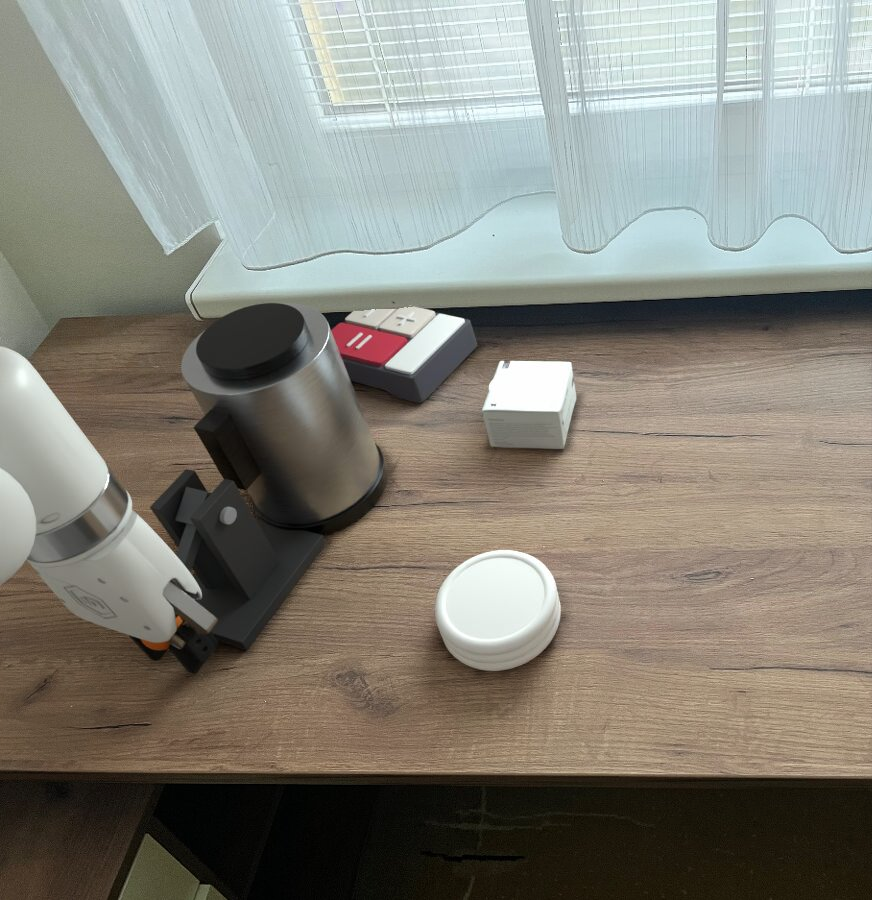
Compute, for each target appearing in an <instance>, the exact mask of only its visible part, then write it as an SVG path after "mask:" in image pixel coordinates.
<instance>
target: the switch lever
mask: <svg viewBox="0 0 872 900" xmlns="http://www.w3.org/2000/svg"><path fill="white" fill-rule="evenodd" d="M211 493H212V492H209V491H207V492H205V491H201V490H197V489H193V488H189V487H186V489H185V492H184V495H183V498H182V501H181V504H180V507H179V510H178V513H177V516H176V519H175V520H176V521H180V522H183V523H186V526H185V529H184V532H183V535H182V538H181V541H180V545H179V548H178V547H177V551H176V554H175V555H176V556H177V557H178V558H179V559H180V560H181V562H182V563H183V564H184V565H185V567H186V568H187V569H188V570H189V572H190V573H191V572H192V570H193V569H192V567H193V564H194V561H195V558H196V554H197V551H198V548H199V545H200V542H201V539H202V536H201V535H200V533H199V532H198V530H197V529H196V527H195V526H194V524H193V523H192V521H191V520H190V517H191V515H192V514H193V513H194V512H195V511H196V510H197V509H198V508H199V506H200V505H201V504H202V503H203V502H204V501H205V500H206V499H207V498H208V496H209V495H210V494H211ZM191 574H192V573H191ZM182 622H183V621H182V619H181V618H180V616H179V615H178V617H177V618H176V625H177V628H178V627H179V626H180V624H181V623H182ZM141 641H142V642H143V644H144V645H145V646H147V647H148V648H150V649H153V650H166V649H168V647H169V645H170V643H169V642H168V641H166V642H161V643H155V642H150V641H146V640H143V639H141Z"/></svg>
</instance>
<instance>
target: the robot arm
mask: <svg viewBox="0 0 872 900" xmlns="http://www.w3.org/2000/svg"><path fill="white" fill-rule="evenodd" d="M25 562H28V563H29V564H30V566H31V568H33V570H34V571H35V572H36V573H37V574H38V576H39V577H40V578H41V579H42V581H43V582H44V583H45V584H46V586H47V587H48V588H49V589H50V590H51V591H52V592H53V594H54V595H55V596H56V597H57V598H58V599H59V601H60V602H61V603H62V604H63V605H64V606H65V607H66V609H68V610H69V611H70V612H71V613H72V614H73V615H74V616H76V617H78V618H80V619H81V620H84V621H87V622H90V623H92V624H94V625H98V626H100V627H104V628H106V629H109V630H113V631H114V632H115V631H116V632H118V633H122V634H124V635H127V636H128V637H129V638H130V639H131V640H132V641H133V642H134V644H136V646H137V647H138V648H139V649H140V650H141V651H142V652H143V653H144V655H145V656H147V657H148V659H149V660H151V661H154V662H158V661H160V660H161V659H162V658H163V657H164V656H165V655H166V653H167V652H168V651H169V652H170V653H171V654H172V655H173V656H174V658H175V659H176V660H177V661H178V662H179V664H180V665H181V666H182V667H183V668H184V670H186V671H187V673H189V674H193V675H196V674H198V673H199V671H200V670H202V668H203V666H204V665H205V663H206V662H207V661H208V660H209V659H210V657H211V656H212V654H213V653H214V651H215V650H216V649H217V647H218V645H219V641H218V640H217V639H216V638H215V637H214V635H213V634H212V633H211V632H210V631H211V630H212V629H213V627H214V626H215V625H216V623H217V622H218V619H217V618H216V617H215V616H214V615H213V614H211V613H210V612H209V611H208V610H206V609H205V608H204V607H203V606H201V605H200V604H199V603H198V602H196V601H195V600H201V599H202V592H201V589H200V587H199V585H198V583H197V582H196V580H195V579H194V577H193V574H192V573H190V572H189V570H188V569H187V568H186V567H185V565H184V564H183V563H182V562H181V560H180V559H179V558H178V557H177V556H176V554H175V552H174V551H173V550H172V549H171V548H170V546H169V545H168V544H167V543H166V542H165V541H164V540H163V539H162V538H161V537H160V535H158V534H157V532H156V531H155V530H154V529H153V528H152V527H151V526H150V525H149V524H148V523H147V522H146V521H145V520H144V519H143V518H142V517H141V516H140V515H139V514H138V513H137V512H136V511H134V510H133V499H132V497H131V495H130V493H129V492H128V490H127V489H126V488H125V486H124V484H122V482H121V481H120V480H119V479H118V477H117V476H116V474H115V473H114V471H113V470H112V469H111V468H110V467H109V465H108V463H106V461H105V460H104V458H103V457H102V456H101V454H100V453H99V451H97V449H96V448H95V446H94V445H93V444H92V442H91V441H90V440H89V439H88V437H87V436H86V435H85V433H84V432H83V430H82V429H81V428H80V427H79V425H78V424H77V423H76V421H75V420H74V419H73V417H72V416H71V415H70V413H69V412H68V410H67V409H66V408H65V406H64V405H63V404H62V402H61V401H60V400H59V399H58V397H57V396H56V395H55V393H54V392H53V391H52V389H51V388H50V386H49V385H48V384H47V383H46V381H45V380H44V379H43V377H42V376H41V374H40V373H39V372H38V371H37V369H36V368H35V367H34V366H33V365H32V363H31V362H30V361H29V360H28V359H27V358H26V357H24V356H23V355H22V354H20V353H19V352H17V351H15V350H14V349H11V348H8V347H5V346H2V345H1V346H0V586H2V585H3V584H5V583H6V582H7V581H8V580H9V579H11V578H13V577H14V575H15V574H16V573H17V572H18V571H19V570H20V569H21V568H22V567H23V565H24V564H25ZM178 615H179V616H180V617H181V618H183V619H184V620H183V622H182V623H181V624H180V626H179V627H178V628H177V625H176V618H177V617H178ZM141 639H143V640H146V641H150V642H155V643H161V642H166V641H168V642H169V643H170V645H169V647H168V649H166V650H153V649H150V648H148V647H147V646H145V645H144V644H143V642H142V641H141Z"/></svg>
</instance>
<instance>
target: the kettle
mask: <svg viewBox="0 0 872 900" xmlns="http://www.w3.org/2000/svg"><path fill="white" fill-rule="evenodd" d="M331 330H332V329H331V327H330V324H329V321H328V320H327V318H326V317H325V316H324V315H323V314H322V312H320V311H319V310H317V309H315V308H313V307H311V306H308V305H305V304H300V303H293V302H265V303H263V302H262V303H256V304H252V305H248V306H244V307H241V308H239V309H235V310H233V311H231V312H229V313H227V314H225V315H223V316H221V317H220V318H218V319H217V320H215V321H214V322H212V323H211V324H210V325H209V326H208V327H207V328H206V329H204V330H203V331H202V332H201V333H200V334H198V336H196V337H195V338H194V340H192V342H191V343H190V344H189V346H188V347H187V349H186V350H185V352H184V354H183V356H182V359H181V364H180V365H181V366H180V367H181V371H180V372H181V374H182V377H183V378H184V381H185V382H186V384H187V386H188V387H189V389H190V391H191V393H192V395H193V397H194V398H195V400H196V402H197V403H198V405H199V407H200V409H201V411H202V413H203V414H204V416H203V417H202V418H201V419H199V421H198V422H197V423H196V424H195V425H194V426H193V429H194V431H195V433H196V435H197V436H198V438H199V439H200V441H201V443H202V445H203V446H204V448H205V450H206V451H207V453H208V455H209V457H210V458H211V460H212V462H213V464H214V465H215V467H216V469H217V470H218V472H219V474H220V476H221V478H222V480H224V479H228V480H232V481H234V482H235V484H236V486H237V488H238V489H239V490H241V491H245V492H246V491H247V492H248V495H249V499H250V503H251V506H252V508H253V510H254V513H255V514H256V515H257V518H258V519H262V520H263V521H265V522H266V523H268V524H270V525H272V526H274V527H277V528H281V529H286V530H305V531H308V532H312V533H316V534H320V535H323V536H327V535H331V534H333V533H336V532H339V531H340V530H343V529H346V528H347V527H349V526H351V525H353V524H354V523H356V522H358V521H359V520H361V519H362V518H363V517H364V516H365V515H366V514H368V513H369V512H370V511H371V510H372V509H373V508H374V507H375V506H376V504H377V503H378V502H379V501H380V499H381V497H382V496H383V494H384V492H385V489H386V487H387V484H388V479H389V470H388V465H387V462H386V460H385V457H384V454H383V452H382V450H381V448H380V447H379V445H378V444H377V443H376V442H375V440H374V437H373V435H372V432H371V429H370V427H369V425H368V422H367V419H366V417H365V414H364V411H363V409H362V406H361V404H360V401H359V399H358V396H357V394H356V391H355V388H354V386H353V384H352V381H351V380H350V378H349V375H348V373H347V370H346V368H345V365H344V363H343V360H342V357H341V355H340V352H339V350H338V347H337V345H336V342H335V340H334V337H333V334H332V332H331Z"/></svg>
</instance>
